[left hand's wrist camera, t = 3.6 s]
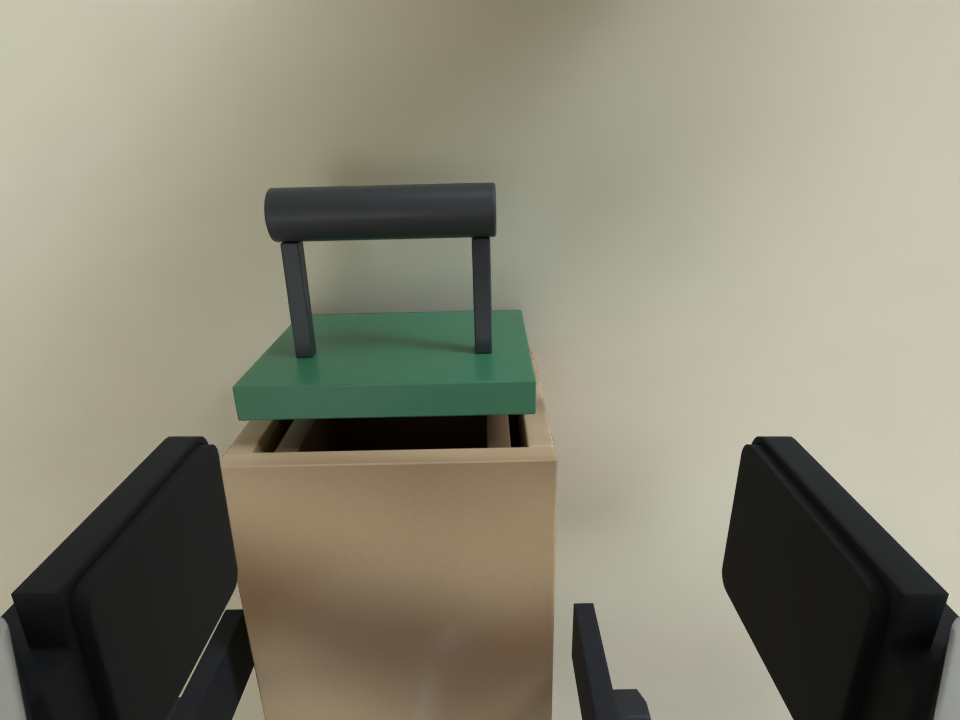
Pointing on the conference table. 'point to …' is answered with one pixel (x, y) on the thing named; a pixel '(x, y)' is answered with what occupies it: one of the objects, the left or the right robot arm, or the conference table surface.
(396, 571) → the pale wooden box
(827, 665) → the left robot arm
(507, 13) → the conference table surface
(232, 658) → the right robot arm
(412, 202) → the drawer
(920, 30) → the conference table surface
